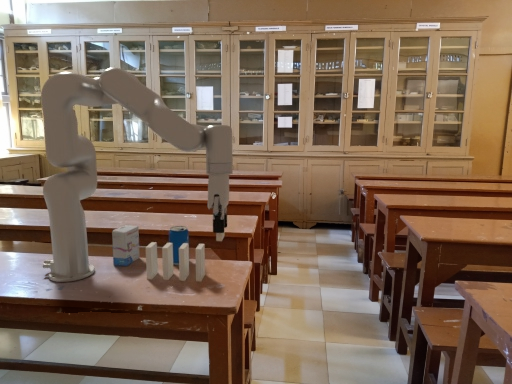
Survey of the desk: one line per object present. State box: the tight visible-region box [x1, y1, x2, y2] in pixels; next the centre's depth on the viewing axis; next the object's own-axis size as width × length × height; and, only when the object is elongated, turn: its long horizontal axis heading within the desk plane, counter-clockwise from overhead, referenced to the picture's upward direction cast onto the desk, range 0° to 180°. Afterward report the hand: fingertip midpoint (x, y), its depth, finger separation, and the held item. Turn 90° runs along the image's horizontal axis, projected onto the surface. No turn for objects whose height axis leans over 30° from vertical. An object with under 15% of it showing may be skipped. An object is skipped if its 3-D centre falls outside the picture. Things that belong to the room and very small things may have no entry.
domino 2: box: [161, 242, 174, 281], centre depth 106 cm, size 2×5×10 cm, turn 176°
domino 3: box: [178, 242, 190, 282], centre depth 105 cm, size 2×5×10 cm, turn 176°
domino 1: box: [145, 241, 159, 280], centre depth 106 cm, size 2×5×10 cm, turn 176°
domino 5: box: [215, 207, 225, 242], centre depth 102 cm, size 2×5×10 cm, turn 176°
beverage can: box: [168, 225, 190, 266], centre depth 117 cm, size 6×6×12 cm
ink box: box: [111, 224, 140, 267], centre depth 117 cm, size 9×5×12 cm, turn 168°
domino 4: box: [195, 243, 206, 282], centre depth 105 cm, size 2×5×10 cm, turn 176°
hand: (220, 229), depth 103 cm, fingers closed on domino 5, 4 cm apart
